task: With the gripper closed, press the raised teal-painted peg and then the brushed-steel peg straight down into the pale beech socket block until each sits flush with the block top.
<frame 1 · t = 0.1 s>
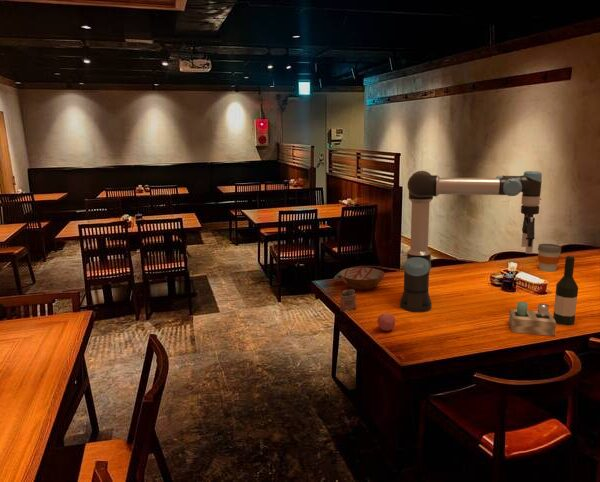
hand: (526, 250, 219), 28 cm above the table, fingers open, 13 cm apart
wine bottle: (563, 322, 205), on the table
teal peg: (522, 309, 198), point 8 cm above the table, slide at 0.0 cm
steel peg: (542, 311, 195), point 8 cm above the table, slide at 0.0 cm
socket block: (530, 328, 198), on the table
apple: (386, 330, 200), on the table
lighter: (348, 310, 225), on the table
reusable coffee cup: (547, 270, 284), on the table
bowl: (361, 287, 260), on the table
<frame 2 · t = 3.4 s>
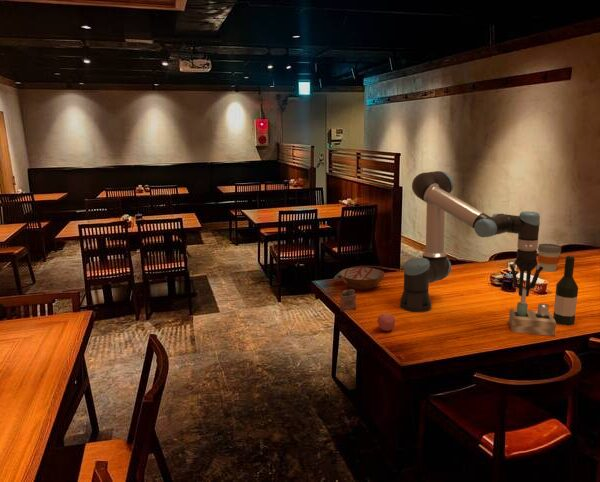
hand: (522, 303, 197), 11 cm above the table, fingers closed
teal peg: (522, 310, 198), point 8 cm above the table, slide at 0.2 cm, touching gripper
everything else where it was.
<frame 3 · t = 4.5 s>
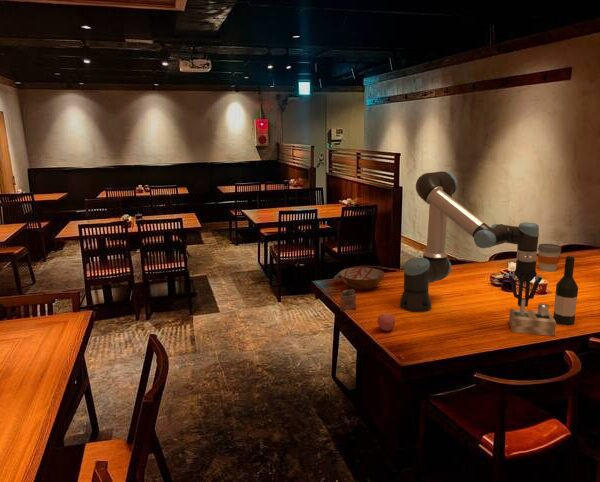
hand: (522, 313, 198), 6 cm above the table, fingers closed
teal peg: (521, 320, 199), point 3 cm above the table, slide at 4.7 cm, touching gripper
everything else where it was.
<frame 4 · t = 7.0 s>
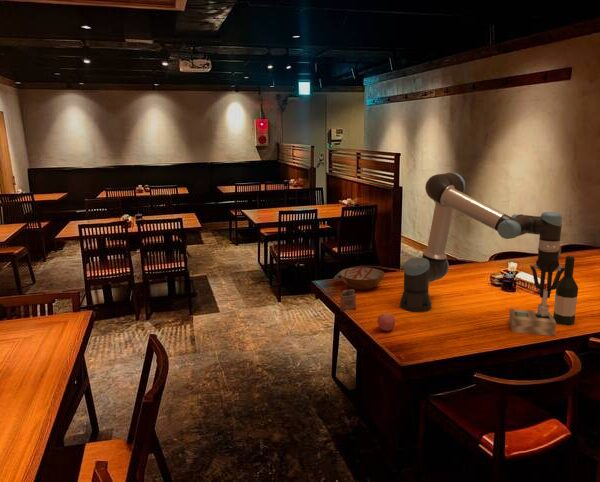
hand: (543, 304, 195), 11 cm above the table, fingers closed
teal peg: (521, 320, 199), point 3 cm above the table, slide at 4.8 cm
steel peg: (542, 311, 195), point 8 cm above the table, slide at 0.2 cm, touching gripper
everything else where it was.
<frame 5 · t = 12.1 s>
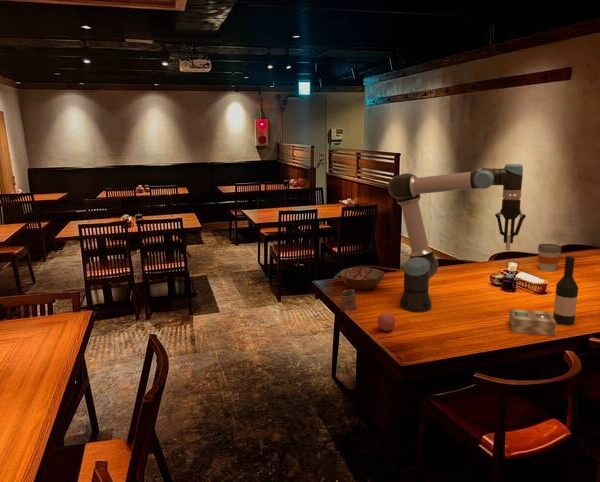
hand: (507, 249, 213), 29 cm above the table, fingers closed
steel peg: (541, 322, 196), point 3 cm above the table, slide at 4.7 cm
everything else where it was.
at the end: teal peg slide at 4.8 cm; steel peg slide at 4.7 cm; teal peg touching nothing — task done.
